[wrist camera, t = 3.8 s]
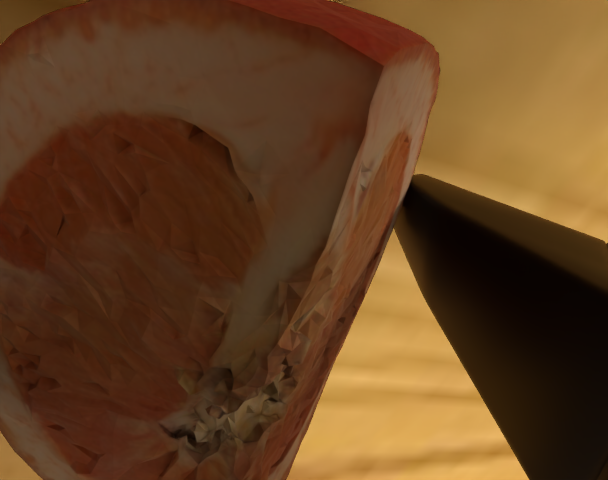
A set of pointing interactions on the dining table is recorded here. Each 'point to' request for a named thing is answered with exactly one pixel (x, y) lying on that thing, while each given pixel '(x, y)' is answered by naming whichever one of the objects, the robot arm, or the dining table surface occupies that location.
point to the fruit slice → (193, 225)
